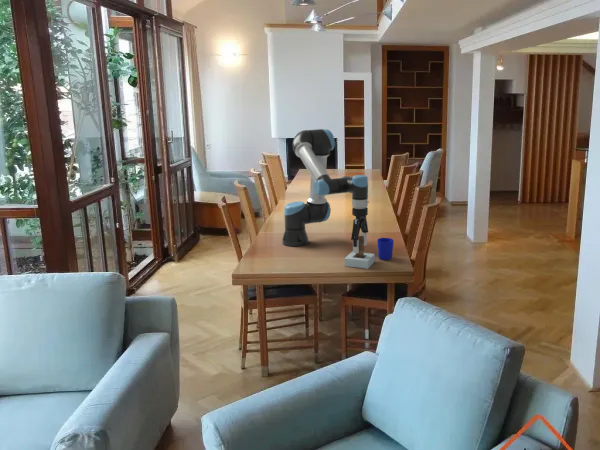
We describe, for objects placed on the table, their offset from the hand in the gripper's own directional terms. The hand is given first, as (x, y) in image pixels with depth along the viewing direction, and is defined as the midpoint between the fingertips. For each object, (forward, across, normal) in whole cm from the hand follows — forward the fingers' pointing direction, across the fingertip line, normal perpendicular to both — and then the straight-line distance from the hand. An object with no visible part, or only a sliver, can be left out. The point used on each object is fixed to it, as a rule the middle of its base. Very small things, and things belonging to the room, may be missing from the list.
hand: (359, 249), depth 256 cm
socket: (+8, 0, 0) cm, 8 cm away
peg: (+8, 0, 0) cm, 8 cm away
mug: (+8, +14, -9) cm, 18 cm away
